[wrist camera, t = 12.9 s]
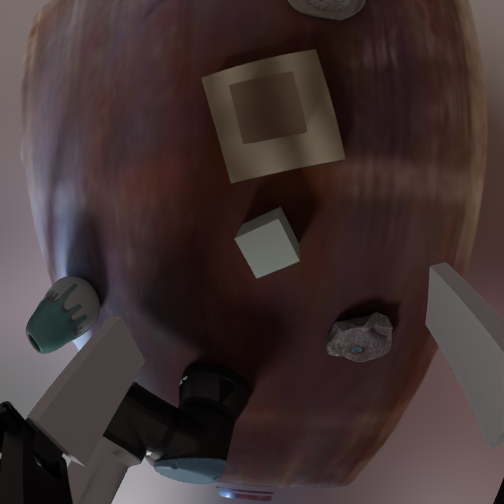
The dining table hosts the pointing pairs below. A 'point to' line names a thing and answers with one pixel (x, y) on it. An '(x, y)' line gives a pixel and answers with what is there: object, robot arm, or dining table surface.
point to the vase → (63, 314)
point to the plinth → (283, 148)
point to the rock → (360, 338)
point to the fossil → (328, 8)
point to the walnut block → (268, 107)
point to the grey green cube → (268, 243)
